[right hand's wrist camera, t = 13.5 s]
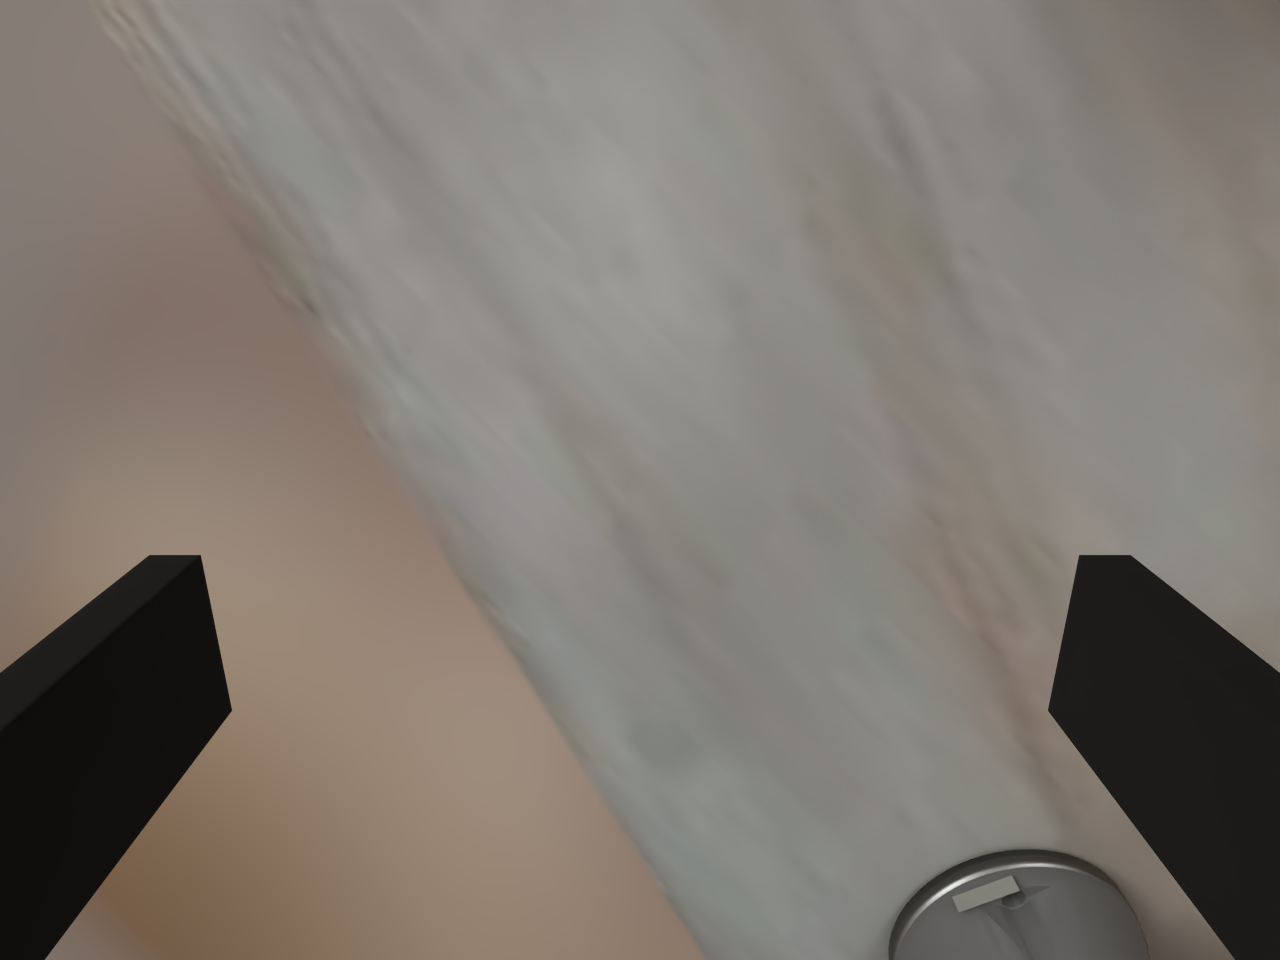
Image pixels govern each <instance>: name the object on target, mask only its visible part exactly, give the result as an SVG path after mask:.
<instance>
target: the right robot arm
mask: <svg viewBox="0 0 1280 960" xmlns="http://www.w3.org/2000/svg"><path fill="white" fill-rule="evenodd" d="M231 711H232V708H231V703H230V698H229V693H228V688H227V683H226V678H225V673H224V668H223V663H222V659H221V654H220V649H219V644H218V639H217V634H216V629H215V624H214V619H213V614H212V609H211V604H210V599H209V594H208V589H207V584H206V579H205V574H204V569H203V564H202V559H201V555H149V556H148V557H147V558H145V559H144V560H143V561H141V562H140V563H139V564H138V565H136V566H135V567H134V568H133V569H131V570H130V571H129V572H128V573H126V574H125V575H124V576H122V577H121V578H120V579H119V580H117V581H116V582H115V583H114V584H112V585H111V586H110V587H109V588H107V589H106V590H105V591H104V592H102V593H101V594H100V595H98V596H97V597H96V598H95V599H93V600H92V601H91V602H90V603H88V604H87V605H86V606H84V607H83V608H82V609H81V610H79V611H78V612H77V613H76V614H74V615H73V616H72V617H71V618H69V619H68V620H67V621H65V622H64V623H63V624H62V625H60V626H59V627H58V628H57V629H55V630H54V631H53V632H52V633H50V634H49V635H48V636H47V637H45V638H44V639H43V640H41V641H40V642H39V643H38V644H36V645H35V646H34V647H33V648H31V649H30V650H29V651H27V652H26V653H25V654H24V655H22V656H21V657H20V658H19V659H17V660H16V661H15V662H14V663H12V664H11V665H10V666H8V667H7V668H6V669H5V670H3V671H2V672H1V673H0V960H45V959H46V957H47V956H48V954H49V953H50V952H51V950H52V949H53V948H54V947H55V945H56V944H57V943H58V941H59V940H60V939H61V937H62V936H63V935H64V933H65V932H66V931H67V929H68V928H69V926H70V925H71V924H72V923H73V921H74V920H75V919H76V917H77V916H78V915H79V913H80V912H81V911H82V909H83V908H84V907H85V905H86V904H87V903H88V901H89V900H90V899H91V897H92V896H93V895H94V893H95V892H96V891H97V889H98V888H99V887H100V885H101V884H102V883H103V881H104V880H105V879H106V877H107V876H108V875H109V873H110V872H111V871H112V869H113V868H114V867H115V865H116V864H117V863H118V861H119V860H120V859H121V857H122V856H123V855H124V853H125V852H126V851H127V849H128V848H129V847H130V845H131V844H132V843H133V841H134V840H135V839H136V837H137V836H138V835H139V834H140V832H141V831H142V830H143V828H144V827H145V825H146V824H147V823H148V822H149V820H150V819H151V817H152V816H153V815H154V814H155V812H156V811H157V810H158V808H159V807H160V806H161V804H162V803H163V802H164V800H165V799H166V798H167V796H168V795H169V794H170V792H171V791H172V790H173V788H174V787H175V786H176V784H177V783H178V782H179V780H180V779H181V778H182V776H183V775H184V774H185V772H186V771H187V770H188V768H189V767H190V766H191V764H192V763H193V762H194V760H195V759H196V758H197V756H198V755H199V754H200V752H201V751H202V750H203V748H204V747H205V746H206V744H207V743H208V742H209V740H210V739H211V738H212V736H213V735H214V734H215V732H216V731H217V730H218V728H219V727H220V726H221V724H222V723H223V722H224V720H225V719H226V718H227V716H228V715H229V714H230V712H231ZM1048 711H1049V712H1050V714H1051V715H1052V716H1053V718H1054V719H1055V720H1056V722H1057V723H1058V724H1059V726H1060V727H1061V728H1062V730H1063V731H1064V732H1065V734H1066V735H1067V736H1068V738H1069V739H1070V740H1071V742H1072V743H1073V744H1074V746H1075V747H1076V748H1077V750H1078V751H1079V752H1080V754H1081V755H1082V756H1083V758H1084V759H1085V760H1086V762H1087V763H1088V764H1089V766H1090V767H1091V768H1092V770H1093V771H1094V772H1095V774H1096V775H1097V776H1098V778H1099V779H1100V780H1101V782H1102V783H1103V784H1104V786H1105V787H1106V788H1107V790H1108V791H1109V792H1110V794H1111V795H1112V796H1113V798H1114V799H1115V800H1116V802H1117V803H1118V804H1119V806H1120V807H1121V808H1122V810H1123V811H1124V812H1125V814H1126V815H1127V816H1128V818H1129V819H1130V820H1131V822H1132V823H1133V824H1134V826H1135V827H1136V828H1137V830H1138V831H1139V832H1140V834H1141V835H1142V836H1143V837H1144V839H1145V840H1146V841H1147V843H1148V844H1149V845H1150V847H1151V848H1152V849H1153V851H1154V852H1155V853H1156V855H1157V856H1158V857H1159V859H1160V860H1161V861H1162V863H1163V864H1164V865H1165V867H1166V868H1167V869H1168V871H1169V872H1170V873H1171V875H1172V876H1173V877H1174V879H1175V880H1176V881H1177V883H1178V884H1179V885H1180V887H1181V888H1182V889H1183V891H1184V892H1185V893H1186V895H1187V896H1188V897H1189V899H1190V900H1191V901H1192V903H1193V904H1194V905H1195V907H1196V908H1197V909H1198V911H1199V912H1200V913H1201V915H1202V916H1203V917H1204V919H1205V920H1206V921H1207V923H1208V924H1209V925H1210V927H1211V928H1212V929H1213V931H1214V932H1215V933H1216V935H1217V936H1218V937H1219V939H1220V940H1221V941H1222V943H1223V944H1224V945H1225V947H1226V948H1227V949H1228V951H1229V952H1230V953H1231V955H1232V956H1233V957H1234V959H1235V960H1280V673H1279V672H1278V671H1277V670H1275V669H1274V668H1273V667H1272V666H1270V665H1269V664H1268V663H1266V662H1265V661H1264V660H1263V659H1261V658H1260V657H1259V656H1258V655H1256V654H1255V653H1254V652H1253V651H1251V650H1250V649H1249V648H1247V647H1246V646H1245V645H1244V644H1242V643H1241V642H1240V641H1239V640H1237V639H1236V638H1235V637H1234V636H1232V635H1231V634H1230V633H1228V632H1227V631H1226V630H1225V629H1223V628H1222V627H1221V626H1220V625H1218V624H1217V623H1216V622H1215V621H1213V620H1212V619H1211V618H1209V617H1208V616H1207V615H1206V614H1204V613H1203V612H1202V611H1201V610H1199V609H1198V608H1197V607H1196V606H1194V605H1193V604H1192V603H1190V602H1189V601H1188V600H1187V599H1185V598H1184V597H1183V596H1182V595H1180V594H1179V593H1178V592H1177V591H1175V590H1174V589H1173V588H1171V587H1170V586H1169V585H1168V584H1166V583H1165V582H1164V581H1163V580H1161V579H1160V578H1159V577H1158V576H1156V575H1155V574H1154V573H1152V572H1151V571H1150V570H1149V569H1147V568H1146V567H1145V566H1144V565H1142V564H1141V563H1140V562H1139V561H1137V560H1136V559H1135V558H1133V557H1132V556H1131V555H1079V559H1078V564H1077V569H1076V574H1075V579H1074V584H1073V589H1072V594H1071V599H1070V604H1069V609H1068V614H1067V619H1066V624H1065V629H1064V634H1063V639H1062V644H1061V649H1060V653H1059V658H1058V663H1057V668H1056V673H1055V678H1054V683H1053V688H1052V693H1051V698H1050V703H1049V708H1048ZM889 960H1150V957H1149V954H1148V947H1147V942H1146V938H1145V935H1144V932H1143V930H1142V928H1141V925H1140V923H1139V921H1138V919H1137V917H1136V915H1135V913H1134V911H1133V909H1132V908H1131V906H1130V905H1129V903H1128V902H1127V900H1126V899H1125V897H1124V896H1123V894H1122V893H1121V891H1120V890H1119V888H1118V887H1117V886H1116V884H1115V883H1114V882H1113V881H1112V880H1111V879H1110V878H1109V877H1108V876H1107V875H1106V874H1105V873H1103V872H1102V871H1100V870H1099V869H1098V868H1096V867H1094V866H1093V865H1091V864H1089V863H1087V862H1085V861H1083V860H1080V859H1078V858H1075V857H1072V856H1069V855H1066V854H1062V853H1057V852H1051V851H1044V850H1012V851H1004V852H998V853H993V854H989V855H984V856H981V857H978V858H975V859H971V860H969V861H966V862H964V863H961V864H959V865H957V866H955V867H953V868H951V869H949V870H947V871H945V872H944V873H942V874H940V875H939V876H937V877H936V878H934V879H933V880H931V881H930V882H929V883H927V884H926V885H925V886H924V887H923V888H921V889H920V890H919V891H918V892H917V893H916V894H915V895H914V896H913V897H912V898H911V900H910V901H909V902H908V903H907V904H906V906H905V907H904V909H903V910H902V912H901V913H900V915H899V917H898V919H897V921H896V922H895V925H894V928H893V930H892V933H891V937H890V942H889Z"/></svg>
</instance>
